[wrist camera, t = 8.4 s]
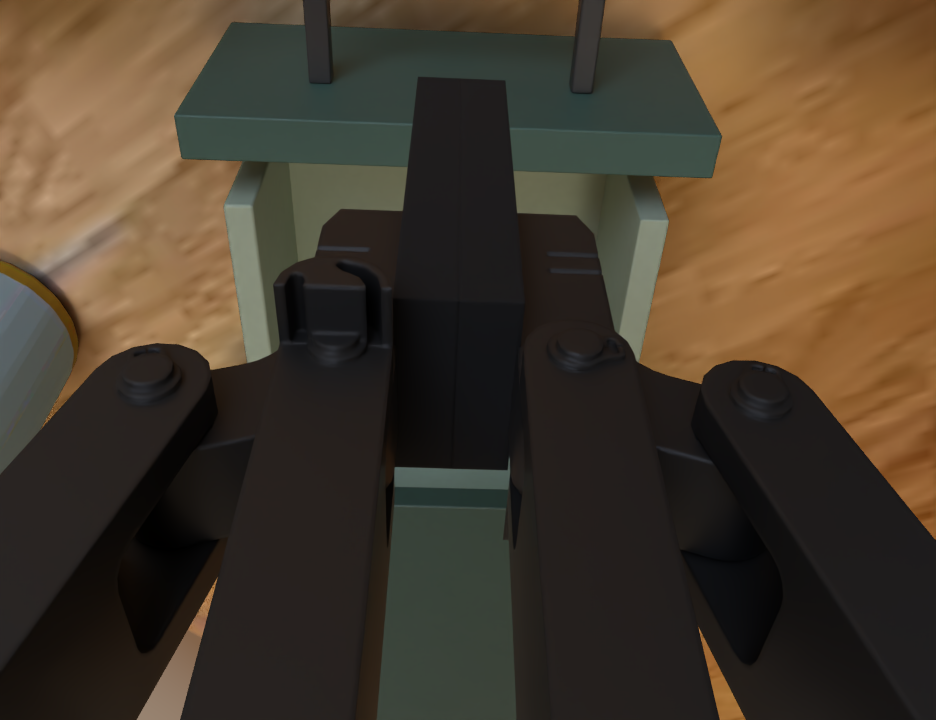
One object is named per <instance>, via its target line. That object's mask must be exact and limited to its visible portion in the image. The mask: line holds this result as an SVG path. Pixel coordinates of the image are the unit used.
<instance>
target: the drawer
mask: <svg viewBox="0 0 936 720" xmlns="http://www.w3.org/2000/svg"><path fill="white" fill-rule="evenodd" d="M604 7H605V0H579V5H578V14H577V22H576V31H575V36H552V35H528V34H504V33H479V32H455V31H431V30H407V29H383V28H358V27H334V26H331V18H330V0H303V8H304V21H305V25H286V24H262V23H237V22H232V23H231V24H230V26H229V27H228V29H227V30H226V32H225V34H224V35H223V37H222V39H221V40H220V42H219V43H218V45H217V47H216V48H215V50H214V52H213V53H212V55H211V56H210V58H209V60H208V61H207V63H206V65H205V66H204V68H203V69H202V71H201V73H200V74H199V76H198V77H197V79H196V81H195V82H194V84H193V86H192V87H191V89H190V90H189V92H188V94H187V95H186V97H185V99H184V100H183V102H182V103H181V105H180V107H179V108H178V110H177V112H176V113H175V115H174V118H175V124H176V129H177V135H178V141H179V146H180V152H181V157H182V159H198V160H225V161H243V162H242V164H241V166H240V169H239V171H238V174H237V176H236V178H235V181H234V183H233V185H232V188H231V190H230V192H229V195H228V197H227V199H226V202H225V204H224V212H225V219H226V226H227V232H228V239H229V246H230V252H231V259H232V265H233V272H234V279H235V285H236V292H237V299H238V305H239V312H240V319H241V325H242V332H243V338H244V345H245V352H246V358H247V363H249V362H253V361H257V360H259V359H262V358H264V357H266V356H268V355H271V354H273V353H274V352H276V351H277V350H278V348H279V344H280V341H279V332H278V324H277V315H276V306H275V298H274V289H273V284H274V282H275V281H276V279H277V278H278V276H279V275H280V273H281V272H282V271H284V270H285V269H287V268H288V267H290V266H292V265H293V264H295V263H296V262H299V261H303V260H306V259H309V258H313V257H315V254H316V250H317V246H318V242H319V237H320V233H321V229H322V226H323V225H324V224H325V223H326V222H327V221H328V220H329V219H330V218H331V217H332V216H334V215H335V214H336V213H337V212H338V211H339V210H340V209H362V210H388V211H403V204H404V195H405V186H406V177H407V168H408V160H409V151H410V142H411V133H412V124H413V116H414V107H415V98H416V89H417V80H418V77H439V78H462V79H486V80H505V81H506V93H507V104H508V115H509V126H510V138H511V149H512V160H513V171H514V183H515V194H516V205H517V213H530V214H556V215H576V216H577V217H578V218H579V219H580V220H581V221H582V222H583V223H584V224H585V225H586V226H587V227H588V228H589V229H590V230H591V231H592V232H593V233H594V236H595V241H596V246H597V250H598V258H599V259H600V264H601V269H602V275H603V278H604V282H605V287H606V292H607V296H608V301H609V306H610V310H611V315H612V319H613V324H614V329H615V332H617V333H618V334H619V335H620V336H622V337H623V338H624V339H625V340H627V341H628V343H629V345H630V347H631V349H632V350H633V352H634V354H635V358H636V361H637V362H638V363H639V360H640V355H641V351H642V346H643V341H644V337H645V332H646V327H647V323H648V318H649V313H650V309H651V304H652V299H653V294H654V290H655V285H656V280H657V276H658V271H659V266H660V262H661V257H662V252H663V248H664V243H665V238H666V234H667V229H668V224H669V220H668V217H667V214H666V211H665V208H664V206H663V203H662V200H661V197H660V194H659V192H658V189H657V186H656V183H655V181H654V178H653V176H663V177H690V178H712V176H713V172H714V168H715V164H716V159H717V155H718V151H719V147H720V143H721V139H722V135H721V133H720V131H719V130H718V128H717V126H716V124H715V122H714V120H713V118H712V116H711V115H710V113H709V111H708V109H707V107H706V105H705V103H704V101H703V99H702V98H701V96H700V94H699V92H698V90H697V88H696V86H695V84H694V82H693V81H692V79H691V77H690V75H689V73H688V71H687V69H686V67H685V66H684V64H683V62H682V60H681V58H680V56H679V54H678V52H677V50H676V49H675V47H674V45H673V43H672V41H670V40H649V39H625V38H600V37H601V29H602V22H603V15H604ZM509 478H510V460H509V462H508V470H474V469H441V468H408V467H395V470H394V483H395V487H425V488H464V489H504V490H508V488H509Z"/></svg>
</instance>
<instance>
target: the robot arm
mask: <svg viewBox="0 0 936 720" xmlns="http://www.w3.org/2000/svg"><path fill="white" fill-rule="evenodd" d="M273 289H274V298H275V306H276V315H277V324H278V332H279V341H280V344H279V348H278V350H277V351H276V352H274V353H273V354H271V355H268V356H266V357H264V358H262V359H259V360H257V361H253V362H249V363H246V364H242V365H237V366H231V367H226V368H221V369H215V370H210V367H209V362H208V361H207V360H206V359H205V358H204V357H203V356H202V355H201V354H199V353H198V352H197V351H195V350H192V349H190V348H187V347H184V346H181V345H177V344H160V343H156V344H150V345H144V346H138V347H133V348H131V349H128V350H126V351H124V352H121V353H119V354H116V355H114V356H112V357H111V358H109V359H108V360H107V361H105V362H104V363H103V364H102V365H100V366H99V367H98V368H96V369H95V370H94V372H93V373H92V374H91V375H90V376H89V377H88V378H87V379H86V380H85V381H84V383H83V384H82V385H81V386H80V387H79V388H78V389H77V390H76V391H75V392H74V394H73V395H72V396H71V397H70V398H69V399H68V400H67V401H66V402H65V404H64V405H63V406H62V407H61V408H60V409H59V410H58V411H57V412H56V413H55V415H54V416H53V417H52V418H51V419H50V420H49V421H48V422H47V423H46V424H45V426H44V427H43V428H42V429H41V430H40V431H39V432H38V433H37V434H36V435H35V437H34V438H33V439H32V440H31V441H30V442H29V443H28V444H27V445H26V446H25V448H24V449H23V450H22V451H21V452H20V453H19V454H18V455H17V456H16V458H15V459H14V460H13V461H12V462H11V463H10V464H9V465H8V466H7V467H6V469H5V470H4V471H3V472H2V473H1V474H0V720H137V718H138V716H139V714H140V713H141V711H142V709H143V707H144V706H145V704H146V702H147V700H148V699H149V697H150V695H151V693H152V691H153V690H154V688H155V686H156V684H157V682H158V681H159V679H160V677H161V676H162V674H163V672H164V670H165V669H166V667H167V665H168V663H169V661H170V660H171V658H172V656H173V655H174V653H175V651H176V649H177V647H178V646H179V644H180V642H181V640H182V639H183V637H184V635H185V633H186V632H187V630H188V628H189V626H190V625H191V623H192V621H193V619H194V618H195V616H196V614H197V612H198V611H199V609H200V607H201V605H202V603H203V602H204V600H205V598H206V596H207V595H208V593H209V591H210V589H211V588H212V586H213V584H214V582H215V581H216V579H217V577H218V579H217V583H216V586H215V590H214V594H213V598H212V601H211V605H210V609H209V613H208V617H207V620H206V624H205V628H204V632H203V636H202V639H201V643H200V647H199V651H198V655H197V658H196V662H195V666H194V670H193V673H192V677H191V681H190V685H189V689H188V692H187V696H186V700H185V704H184V708H183V711H182V715H181V719H180V720H377V711H378V698H379V686H380V674H381V661H382V649H383V637H384V624H385V612H386V600H387V587H388V575H389V563H390V550H391V538H392V526H393V513H394V501H395V483H394V470H395V467H408V468H441V469H474V470H508V462H509V460H510V478H509V488H508V497H507V506H506V516H505V525H504V534H503V540H509V557H510V580H511V603H512V626H513V650H514V673H515V696H516V719H517V720H720V719H719V715H718V711H717V706H716V702H715V698H714V694H713V689H712V685H711V681H710V676H709V672H708V668H707V663H706V659H705V655H704V651H703V646H702V642H701V638H700V633H699V629H698V626H699V628H700V630H701V632H702V634H703V636H704V638H705V640H706V642H707V644H708V646H709V648H710V650H711V652H712V654H713V656H714V658H715V660H716V662H717V664H718V666H719V668H720V670H721V672H722V674H723V675H724V677H725V679H726V681H727V683H728V685H729V687H730V689H731V691H732V693H733V695H734V697H735V699H736V701H737V703H738V705H739V707H740V709H741V711H742V713H743V715H744V717H745V719H746V720H936V540H935V539H934V538H933V537H932V535H931V534H930V533H929V532H928V531H927V529H926V528H925V527H924V526H923V524H922V523H921V522H920V521H919V520H918V518H917V517H916V516H915V515H914V513H913V512H912V511H911V510H910V509H909V507H908V506H907V505H906V504H905V502H904V501H903V500H902V499H901V498H900V496H899V495H898V494H897V493H896V491H895V490H894V489H893V488H892V487H891V485H890V484H889V483H888V482H887V480H886V479H885V478H884V477H883V476H882V474H881V473H880V472H879V471H878V469H877V468H876V467H875V466H874V465H873V463H872V462H871V461H870V460H869V458H868V457H867V456H866V455H865V454H864V452H863V451H862V450H861V449H860V447H859V446H858V445H857V444H856V443H855V441H854V440H853V439H852V438H851V436H850V435H849V434H848V433H847V432H846V430H845V429H844V428H843V427H842V425H841V424H840V423H839V422H838V421H837V419H836V418H835V417H834V416H833V414H832V413H831V412H830V411H829V410H828V408H827V407H826V406H825V405H824V403H823V402H822V401H821V400H820V399H819V397H818V396H817V395H816V394H815V392H814V391H813V390H812V389H811V388H810V387H809V386H807V385H806V384H805V383H804V382H803V381H802V380H801V379H800V378H798V377H797V376H795V375H793V374H791V373H789V372H787V371H785V370H783V369H781V368H779V367H777V366H774V365H770V364H766V363H762V362H758V361H736V360H733V361H730V362H726V363H723V364H719V365H716V366H714V367H713V368H712V369H711V370H710V371H709V372H708V373H706V374H705V375H704V377H703V381H702V384H698V383H694V382H690V381H686V380H682V379H678V378H674V377H671V376H668V375H665V374H662V373H659V372H656V371H653V370H651V369H649V368H647V367H645V366H644V365H642V364H640V363H638V362H637V361H636V358H635V354H634V352H633V350H632V349H631V347H630V345H629V343H628V341H627V340H625V339H624V338H623V337H622V336H620V335H619V334H618V333H617V332H615V329H614V324H613V319H612V315H611V310H610V306H609V301H608V296H607V292H606V287H605V282H604V278H603V275H602V269H601V264H600V259H599V258H598V250H597V246H596V241H595V236H594V233H593V232H592V231H591V230H590V229H589V228H588V227H587V226H586V225H585V224H584V223H583V222H582V221H581V220H580V219H579V218H578V217H577V216H576V215H556V214H530V213H517V205H516V194H515V183H514V171H513V160H512V149H511V138H510V126H509V115H508V104H507V93H506V81H505V80H486V79H462V78H439V77H418V80H417V89H416V98H415V107H414V116H413V124H412V133H411V142H410V151H409V160H408V168H407V177H406V186H405V195H404V204H403V211H388V210H362V209H340V210H339V211H338V212H337V213H336V214H335V215H334V216H332V217H331V218H330V219H329V220H328V221H327V222H326V223H325V224H324V225H323V226H322V229H321V233H320V237H319V242H318V246H317V250H316V254H315V257H313V258H309V259H306V260H303V261H299V262H296V263H295V264H293V265H292V266H290V267H288V268H287V269H285V270H284V271H282V272H281V273H280V275H279V276H278V278H277V279H276V281H275V282H274V284H273ZM697 624H698V625H697Z"/></svg>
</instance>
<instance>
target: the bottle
mask: <svg viewBox="0 0 936 720" xmlns="http://www.w3.org/2000/svg"><path fill="white" fill-rule="evenodd" d="M77 352H78V338H77V334H76V331H75V327H74V324H73V322H72V319H71V318H70V316H69V315H68V313H67V312H66V310H65V309H64V307H63V306H62V304H61V303H60V301H59V300H58V299H57V298H56V296H55V295H54V294H53V293H52V292H51V291H50V290H49V289H48V288H46V287H45V286H44V285H43V284H42V283H41V282H40V281H39V280H37V279H36V278H35V277H34V276H32V275H30V274H28V273H27V272H25V271H23V270H21V269H19V268H17V267H16V266H14V265H12V264H9V263H7V262H3V261H0V474H1V473H2V472H3V471H4V470H5V469H6V467H7V466H8V465H9V464H10V463H11V462H12V461H13V460H14V459H15V458H16V456H17V455H18V454H19V453H20V452H21V451H22V450H23V449H24V448H25V446H26V445H27V444H28V443H29V442H30V441H31V440H32V439H33V438H34V437H35V435H36V434H37V433H38V432H39V431H40V429H41V427H42V426H43V424H44V422H45V420H46V418H47V416H48V415H49V413H50V411H51V409H52V407H53V405H54V403H55V402H56V400H57V398H58V396H59V394H60V392H61V390H62V389H63V387H64V385H65V383H66V381H67V379H68V377H69V376H70V373H71V371H72V369H73V367H74V365H75V362H76V359H77Z"/></svg>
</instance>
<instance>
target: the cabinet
mask: <svg viewBox="0 0 936 720" xmlns="http://www.w3.org/2000/svg"><path fill="white" fill-rule="evenodd" d="M507 497H508V490H504V489H464V488H425V487H395V501H394V513H393V526H392V538H391V550H390V563H389V575H388V587H387V600H386V612H385V624H384V637H383V649H382V661H381V674H380V686H379V698H378V711H377V720H517V719H516V696H515V673H514V650H513V626H512V603H511V580H510V557H509V540H503V534H504V525H505V516H506V506H507Z"/></svg>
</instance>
